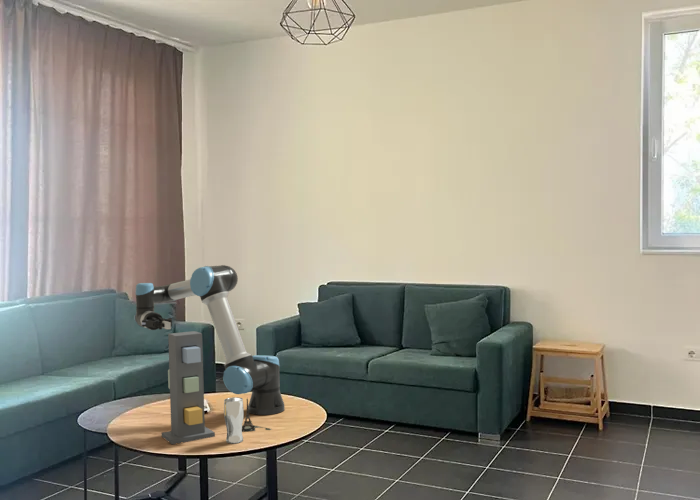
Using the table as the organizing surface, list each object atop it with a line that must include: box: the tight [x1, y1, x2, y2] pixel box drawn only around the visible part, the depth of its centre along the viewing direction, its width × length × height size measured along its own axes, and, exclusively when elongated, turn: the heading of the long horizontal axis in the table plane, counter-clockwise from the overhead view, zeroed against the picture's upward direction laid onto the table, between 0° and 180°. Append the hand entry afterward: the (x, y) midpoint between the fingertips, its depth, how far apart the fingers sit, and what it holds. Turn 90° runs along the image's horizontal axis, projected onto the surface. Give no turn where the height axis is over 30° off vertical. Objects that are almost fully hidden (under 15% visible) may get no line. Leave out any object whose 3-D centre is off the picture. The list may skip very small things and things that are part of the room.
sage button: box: [167, 369, 199, 393], centre depth 252 cm, size 16×7×7 cm, turn 32°
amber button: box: [183, 406, 203, 425], centre depth 250 cm, size 16×7×7 cm, turn 32°
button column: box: [161, 330, 216, 445], centre depth 250 cm, size 12×16×38 cm
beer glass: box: [223, 396, 245, 445], centre depth 243 cm, size 7×7×15 cm
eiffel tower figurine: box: [242, 398, 272, 433], centre depth 258 cm, size 15×10×13 cm
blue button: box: [181, 346, 201, 364], centre depth 249 cm, size 16×7×7 cm, turn 32°
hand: (168, 325), depth 273 cm, fingers closed
